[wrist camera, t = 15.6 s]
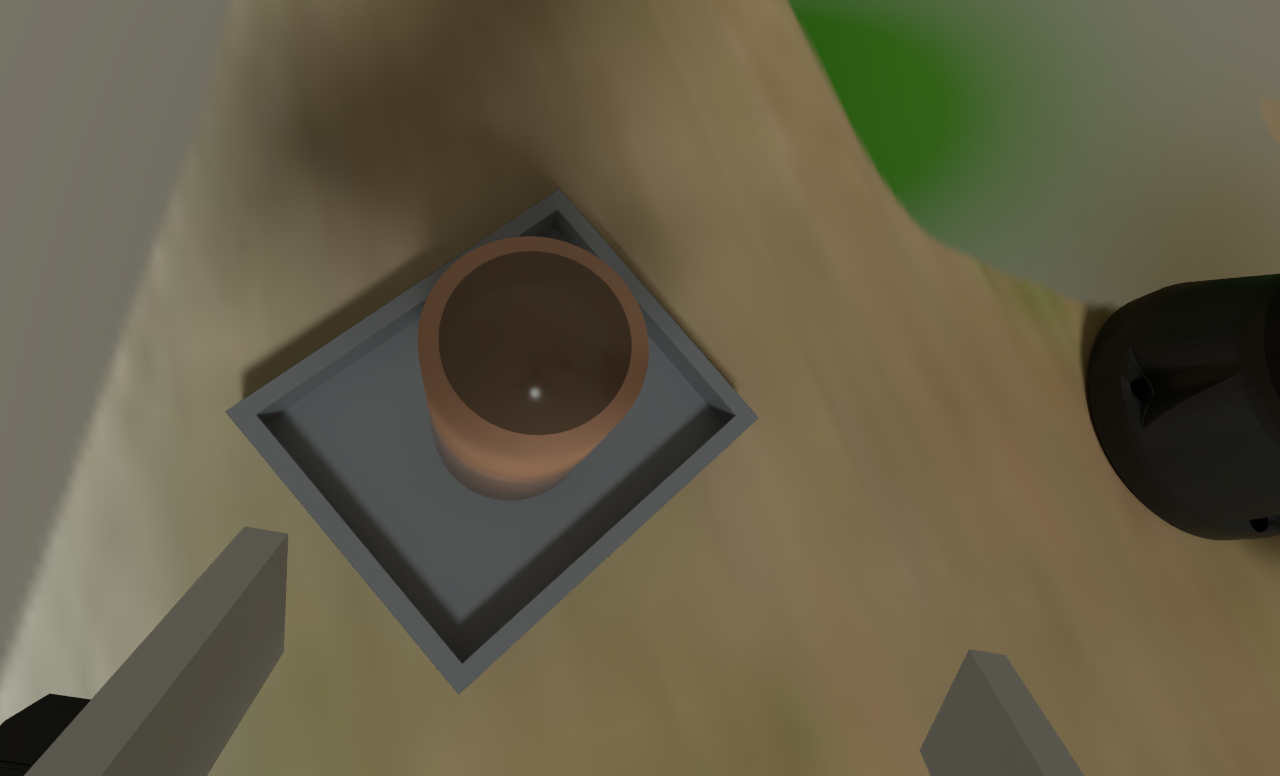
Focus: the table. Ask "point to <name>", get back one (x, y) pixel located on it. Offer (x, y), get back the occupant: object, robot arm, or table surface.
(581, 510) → the grey square tray
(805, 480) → the table surface
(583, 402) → the terracotta cup
